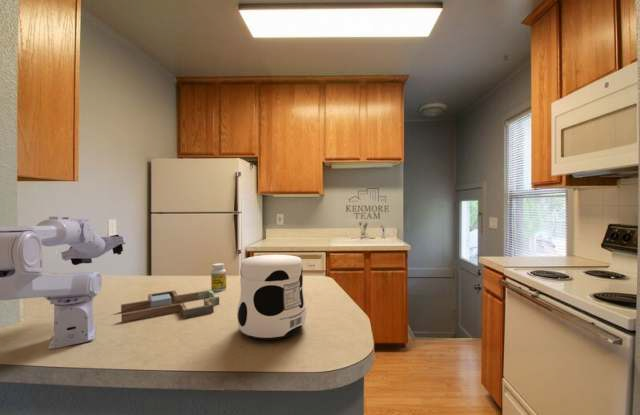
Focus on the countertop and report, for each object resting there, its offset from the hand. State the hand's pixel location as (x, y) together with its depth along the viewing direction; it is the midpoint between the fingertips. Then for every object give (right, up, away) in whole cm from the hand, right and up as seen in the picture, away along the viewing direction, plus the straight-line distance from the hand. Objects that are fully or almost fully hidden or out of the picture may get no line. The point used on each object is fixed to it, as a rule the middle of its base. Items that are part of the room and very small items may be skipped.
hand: (105, 255), depth 90 cm
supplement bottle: (+28, -16, +20) cm, 38 cm away
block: (+18, -17, -1) cm, 24 cm away
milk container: (+54, -17, -15) cm, 58 cm away
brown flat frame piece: (+20, -16, +1) cm, 26 cm away
